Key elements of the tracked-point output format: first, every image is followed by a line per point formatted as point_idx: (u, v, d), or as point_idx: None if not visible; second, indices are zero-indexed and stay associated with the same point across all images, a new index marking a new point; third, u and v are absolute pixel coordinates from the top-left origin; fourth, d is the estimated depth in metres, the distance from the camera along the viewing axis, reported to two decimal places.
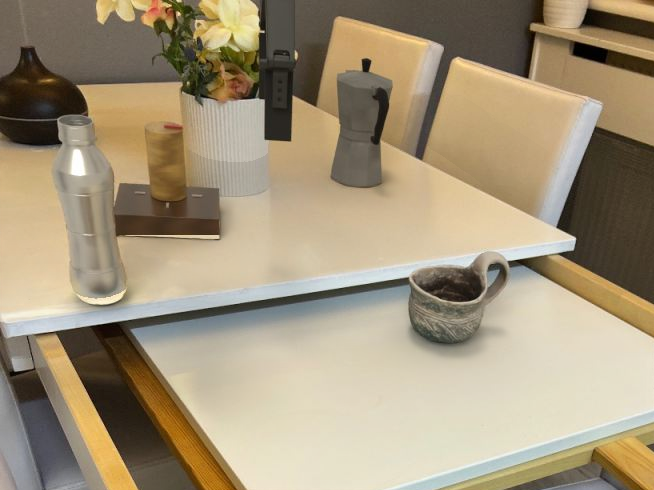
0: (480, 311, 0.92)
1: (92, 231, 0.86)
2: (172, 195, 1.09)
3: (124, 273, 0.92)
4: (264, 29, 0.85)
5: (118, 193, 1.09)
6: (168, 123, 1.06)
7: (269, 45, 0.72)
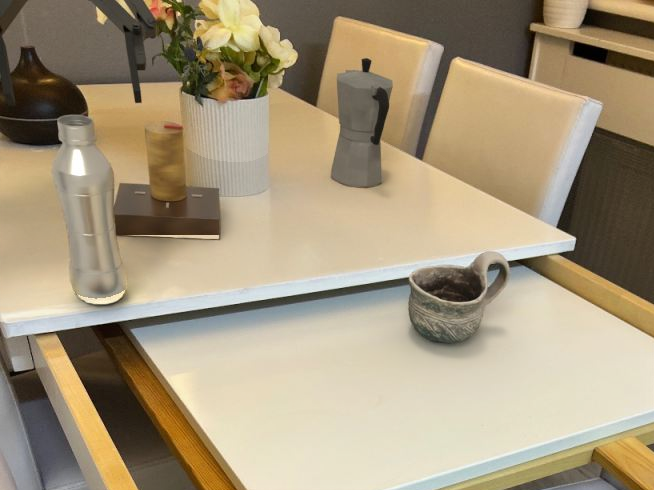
0: (480, 311, 0.92)
1: (91, 231, 0.86)
2: (172, 195, 1.09)
3: (124, 273, 0.92)
4: None
5: (118, 193, 1.09)
6: (168, 123, 1.06)
7: (149, 10, 0.88)
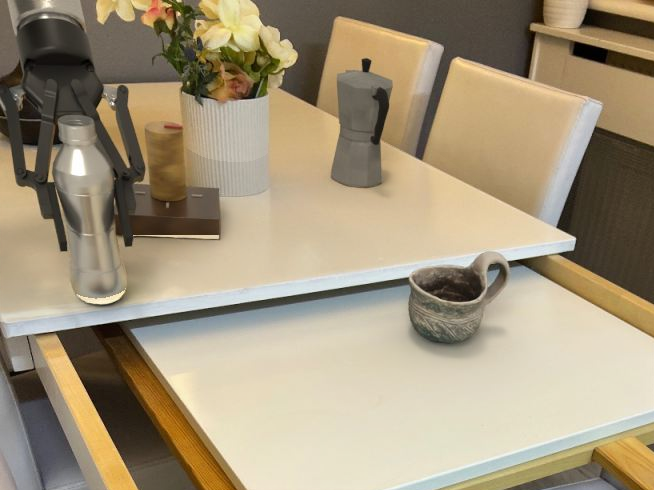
0: (480, 311, 0.92)
1: (92, 231, 0.86)
2: (172, 195, 1.09)
3: (124, 273, 0.92)
4: (45, 181, 0.83)
5: None
6: (168, 123, 1.06)
7: (142, 157, 0.87)
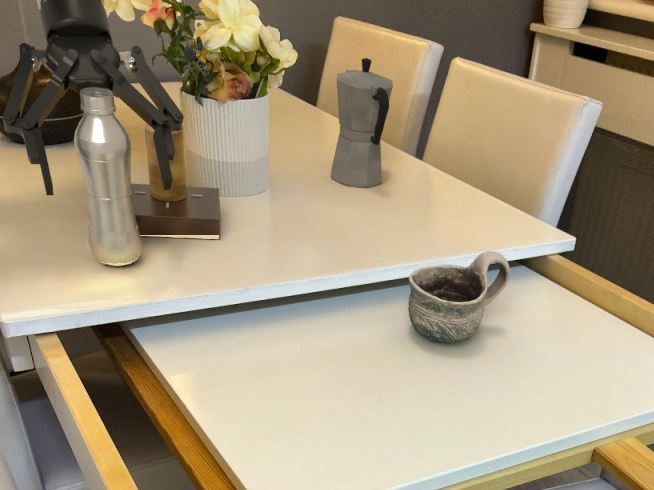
0: (480, 311, 0.92)
1: (110, 196, 0.93)
2: (172, 195, 1.09)
3: (139, 237, 0.99)
4: (32, 128, 0.89)
5: None
6: None
7: (176, 106, 0.95)
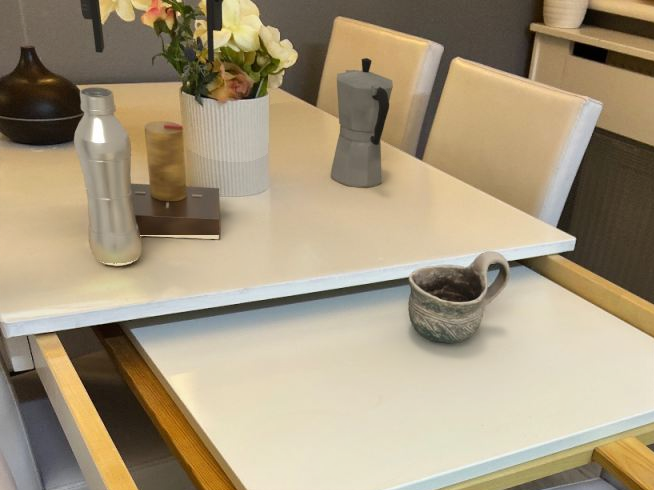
0: (480, 311, 0.92)
1: (110, 196, 0.93)
2: (172, 195, 1.09)
3: (139, 237, 0.99)
4: None
5: None
6: (168, 123, 1.06)
7: None
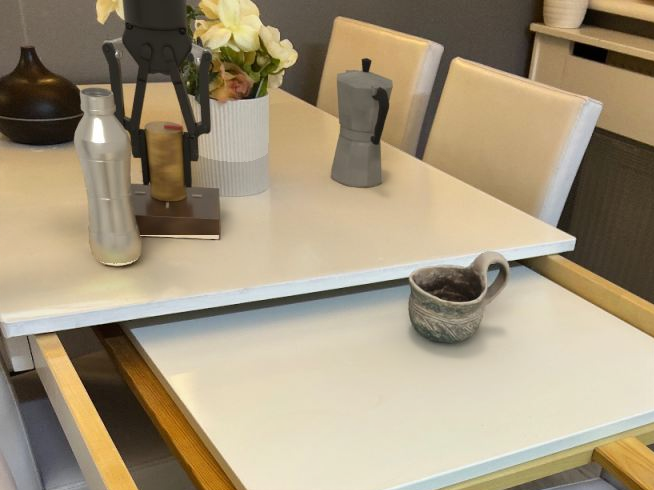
0: (480, 311, 0.92)
1: (110, 196, 0.93)
2: (172, 195, 1.09)
3: (139, 237, 0.99)
4: (138, 131, 1.04)
5: None
6: (168, 123, 1.06)
7: (209, 120, 1.04)
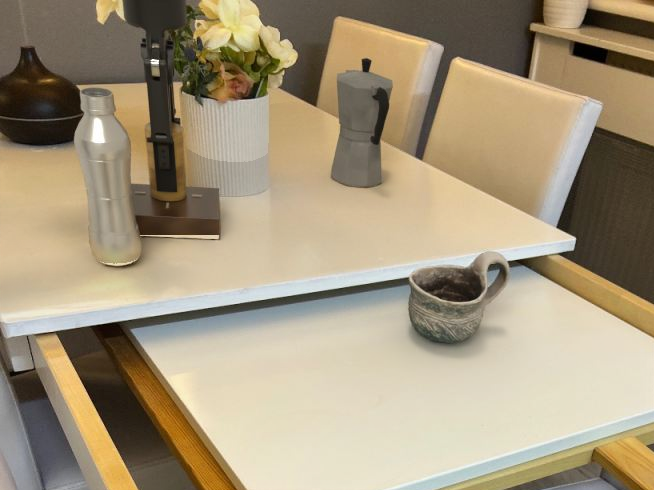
0: (480, 311, 0.92)
1: (110, 196, 0.93)
2: None
3: (139, 237, 0.99)
4: None
5: None
6: None
7: None
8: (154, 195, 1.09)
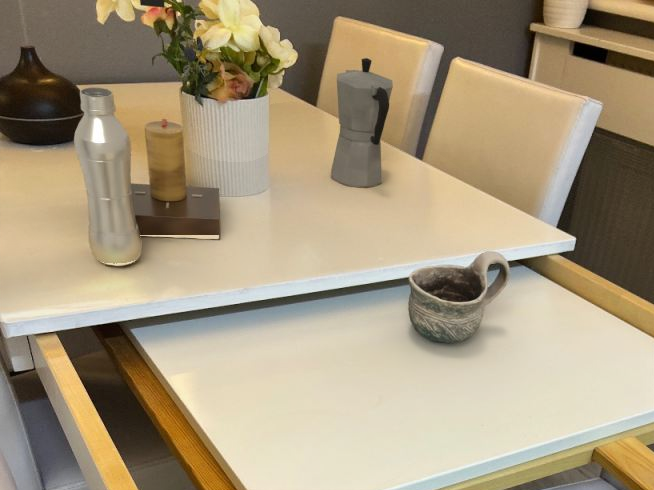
0: (480, 311, 0.92)
1: (110, 196, 0.93)
2: None
3: (139, 237, 0.99)
4: None
5: None
6: (151, 125, 1.05)
7: None
8: (154, 195, 1.09)
